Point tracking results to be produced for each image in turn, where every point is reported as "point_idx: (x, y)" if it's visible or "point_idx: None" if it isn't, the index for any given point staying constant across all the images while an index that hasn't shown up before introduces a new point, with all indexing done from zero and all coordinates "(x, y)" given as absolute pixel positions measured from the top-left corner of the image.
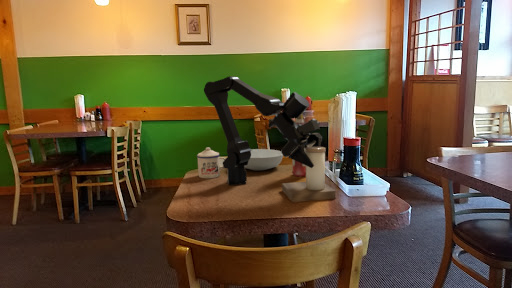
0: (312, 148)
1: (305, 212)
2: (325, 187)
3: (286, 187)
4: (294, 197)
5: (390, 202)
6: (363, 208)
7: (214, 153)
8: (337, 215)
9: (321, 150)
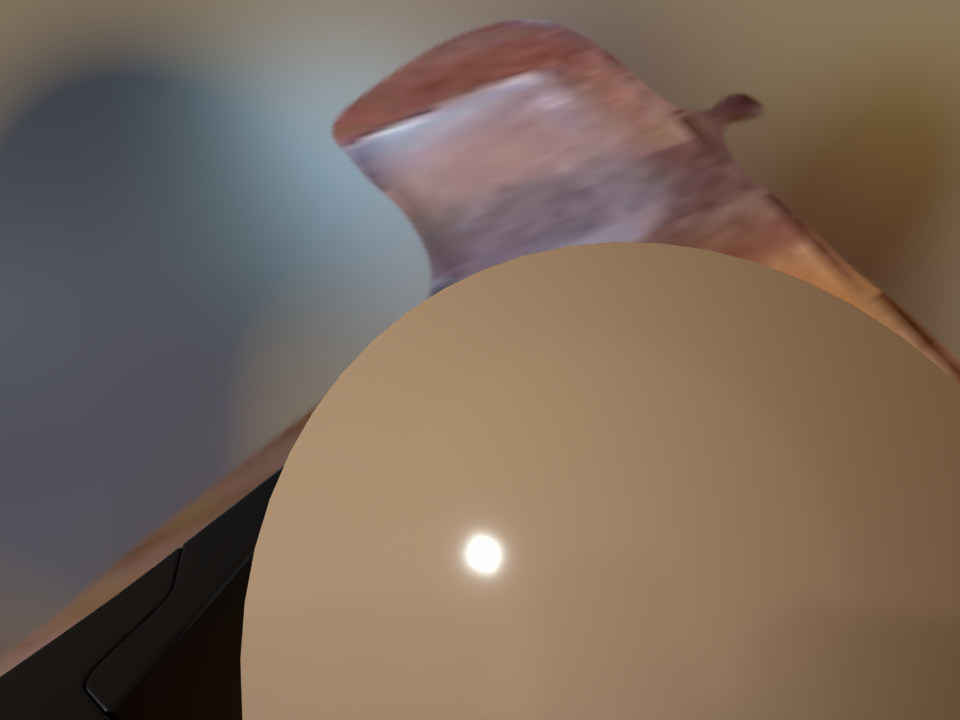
0: (812, 702)
1: None
2: None
3: None
4: None
5: (440, 95)
6: (597, 156)
7: None
8: (774, 212)
9: (757, 288)
